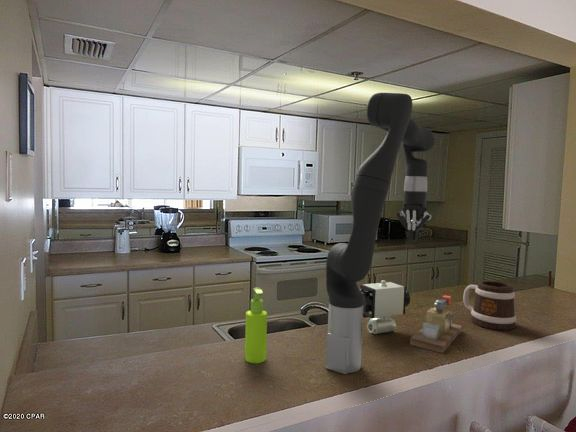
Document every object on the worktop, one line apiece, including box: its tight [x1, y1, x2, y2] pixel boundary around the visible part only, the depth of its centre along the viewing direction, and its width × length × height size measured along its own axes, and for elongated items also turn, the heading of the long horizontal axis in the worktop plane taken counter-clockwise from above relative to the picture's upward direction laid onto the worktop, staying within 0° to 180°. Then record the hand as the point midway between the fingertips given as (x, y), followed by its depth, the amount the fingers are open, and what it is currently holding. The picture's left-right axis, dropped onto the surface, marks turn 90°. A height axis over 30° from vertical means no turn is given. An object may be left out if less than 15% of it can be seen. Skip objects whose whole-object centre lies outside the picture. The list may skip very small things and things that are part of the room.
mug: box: [462, 280, 517, 331], centre depth 150 cm, size 20×15×15 cm
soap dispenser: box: [244, 287, 268, 364], centre depth 111 cm, size 6×7×20 cm
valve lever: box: [433, 294, 452, 312], centre depth 137 cm, size 13×3×3 cm, turn 145°
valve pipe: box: [422, 307, 453, 341], centre depth 133 cm, size 18×6×7 cm, turn 144°
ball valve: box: [359, 279, 411, 335], centre depth 137 cm, size 18×8×18 cm, turn 115°
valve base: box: [409, 323, 463, 354], centre depth 133 cm, size 24×10×2 cm, turn 144°
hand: (412, 241), depth 138 cm, fingers closed
